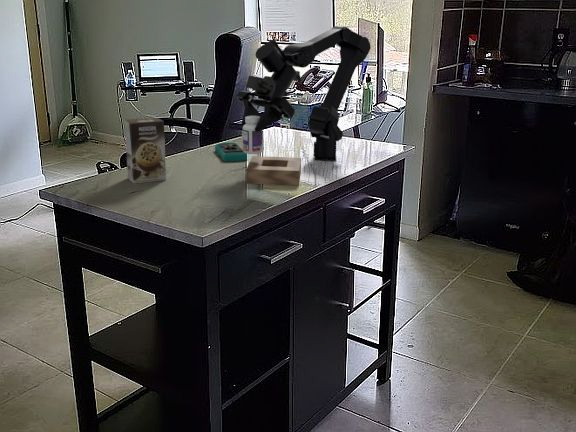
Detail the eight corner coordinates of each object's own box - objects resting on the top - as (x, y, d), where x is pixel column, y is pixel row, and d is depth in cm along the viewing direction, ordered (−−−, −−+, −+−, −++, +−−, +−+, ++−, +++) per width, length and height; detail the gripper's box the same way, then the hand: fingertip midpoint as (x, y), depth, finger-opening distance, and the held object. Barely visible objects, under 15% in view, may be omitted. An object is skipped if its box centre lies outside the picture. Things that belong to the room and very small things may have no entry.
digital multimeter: (236, 150, 206) (236, 141, 205) (248, 161, 193) (247, 152, 192) (214, 151, 204) (214, 142, 203) (224, 163, 191) (223, 153, 190)
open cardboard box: (300, 171, 182) (301, 157, 181) (298, 185, 169) (299, 170, 168) (252, 169, 183) (252, 156, 182) (246, 183, 170) (246, 169, 169)
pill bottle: (264, 149, 178) (264, 115, 174) (260, 154, 173) (260, 119, 169) (245, 149, 178) (244, 114, 175) (241, 154, 173) (240, 118, 170)
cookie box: (133, 184, 167) (129, 123, 162) (127, 178, 173) (123, 118, 167) (167, 180, 171) (164, 120, 166) (160, 174, 177) (157, 116, 171)
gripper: (240, 61, 176) (210, 105, 173) (287, 67, 164) (255, 116, 160) (262, 86, 184) (233, 130, 181) (308, 94, 172) (278, 141, 168)
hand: (248, 129), depth 172 cm, fingers closed on pill bottle, 5 cm apart
